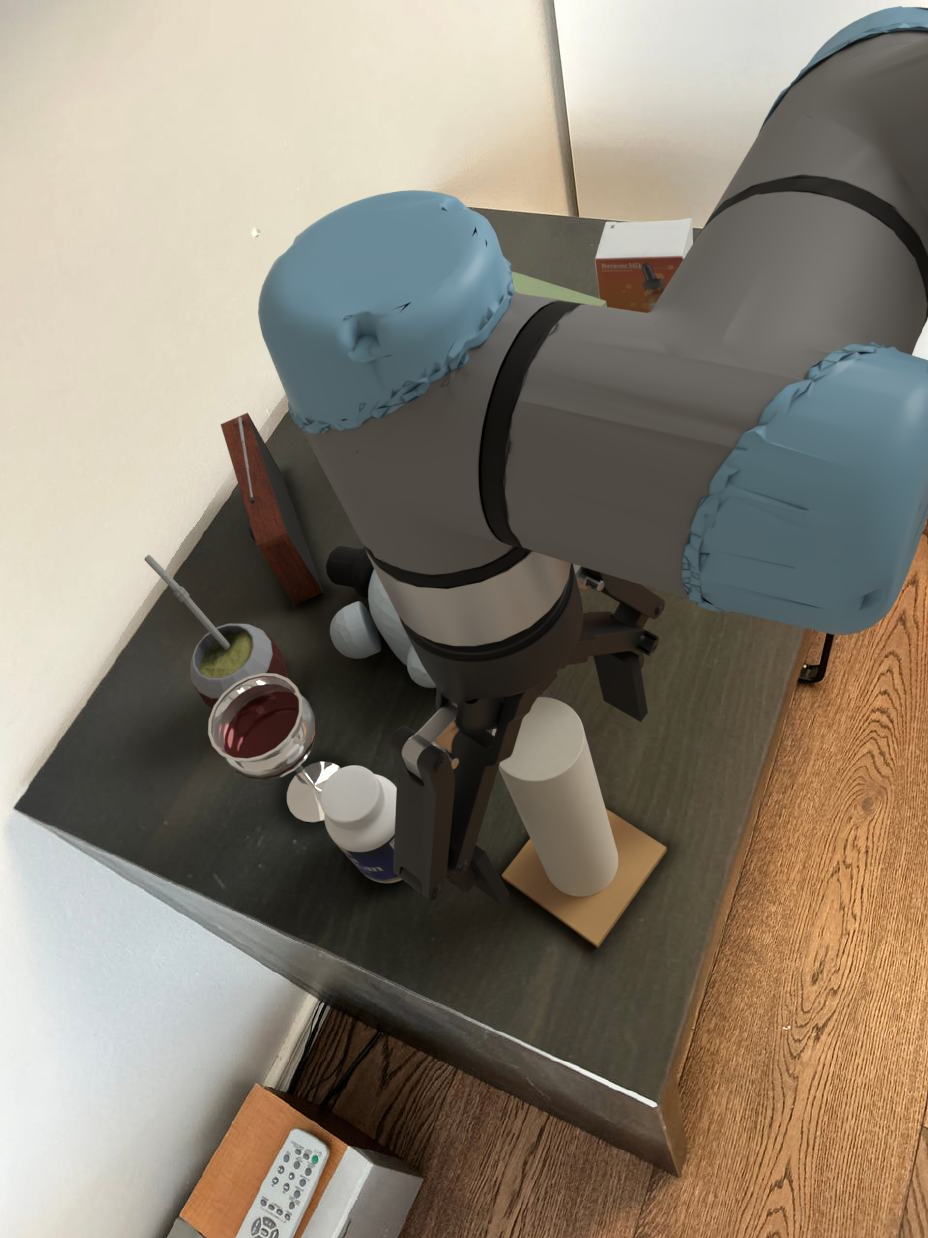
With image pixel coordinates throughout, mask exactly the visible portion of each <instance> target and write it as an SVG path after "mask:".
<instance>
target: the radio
mask: <svg viewBox="0 0 928 1238" xmlns="http://www.w3.org/2000/svg"><path fill="white" fill-rule="evenodd" d="M220 428H221V431H222V434H223V435H222V436H223V437H224V441H225V444H226V447H227V452H228V454H229V457H230V461H231V464H232V467H233V471H234V474H235V478H236V481H237V485H238V487H239V491H240V494H241V497H242V501H243V504H244V508H245V510H246V514H247V517H248V520H249V521H248V522H249V525H248V526H247V528H248V529H247V530H248V532H249V534H250V536H251V538H252V540H253V542H254V543H255V544H256V547H257V548H258V550H259V552H260V554H261V555H262V557H263V558H264V560H265V561H266V563H267V565H268V566H269V568H270V569H271V570H272V572H273V573H274V575H275V577H276V578H277V580H278V581H279V583H280V584H281V586H282V588H283V589H284V591H285V592H286V594H287V596H288V597H289V598H290V600H291V601H292V603H293V605H294V606H296V605H298V604H301V603H303V602H305V601H308V600H310V599H312V598H314V597H317V596H319V595H321V594H323V593H324V592H323V588H322V586H321V582H320V579H319V577H318V574H317V571H316V568H315V565H314V562H313V559H312V557H311V554H310V551H309V547H308V545H307V542H306V539H305V536H304V533H303V531H302V528H301V525H300V522H299V519H298V516H297V513H296V510H295V507H294V504H293V502H292V499H291V495H290V492H289V490H288V488H287V485H286V481H285V479H284V475H283V473H282V472H281V470H280V467H279V466H278V464H277V463H276V461H275V459H274V457H273V455H272V453H271V452H270V450H269V448H268V446H267V445H266V443H265V441H264V439H263V437H262V436H261V434H260V432H259V430H258V428H257V426H256V425H255V423H254V421H253V420H252V418H251V415H250V414H249V412H246V413H243V414H241V415H238V416H236V417H234V418H232V419H230V420H228V421H224V422H223V423H220Z"/></svg>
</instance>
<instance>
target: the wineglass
mask: <svg viewBox="0 0 928 1238" xmlns="http://www.w3.org/2000/svg"><path fill="white" fill-rule="evenodd" d="M207 726H208V727H207V728H208V729H207V734H208V737H209V740H210V743H211V746H212V747H213V748H214V749H215V750H216V751H217V753H218V754H219V755H221V756H222V757H223V760H224V761H225V762H226V763H227V765H229V767H230V768H231V769H232V770H234V771H235V773H237V774H239V775H241V776H243V777H246V778H247V779H252V780H253V779H254V780H264V781H270V780H274V779H279V778H283V777H285V776H286V775H288V774H290V773H292V772H295V773H296V774H294V777H293V778H292V780H291V781H290V782H289V785H288V788H287V792H286V803H287V807H288V809H289V811H290V813H291V814H292V815H293V816H294V817H295V818H296V819H298V820H300V821H303V822H309V823H317V822H322V821H325V819H324V812H323V810H322V807H321V803H320V795H321V790H322V788H323V785H324V784H325V782H326V780H327V779H328V778H329V777H330V776H331V775H332V774H333V773H334V772H336V771H337V770H339V769H341V768H342V767H340V766H339V765H337V764H336V763H333V762H329V761H318V762H314V763H311V764H309V765H307V766H305V767H303V765H302V764H303V763H304V762H306V760H307V758H308V756H309V755H310V753H312V750H313V748H314V744H315V741H316V738H317V718H316V715H315V713H314V710H313V707H312V705H311V704H310V702H309V700H308V699H307V698H305V696H304V695H303V694H302V693H301V692H300V690H299V688H298V686H296V684H294V682H292V680H291V679H289V677H288V678H286V677H283V676H281V675H278V674H272V673H260V674H256V675H252V676H248V677H246V678H244V679H242V680H240V681H238V682H236V683H235V684H233V685H232V686H231V687H230V688H229V689H228V690H226V691H225V692H224V693H223V694H222V695H221V697H220V698H219V700H218V701H217V702H216V704H215V705H214V707H213V709H211V713H210V716H209V718H208V725H207Z"/></svg>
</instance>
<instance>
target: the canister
mask: <svg viewBox="0 0 928 1238" xmlns="http://www.w3.org/2000/svg"><path fill="white" fill-rule="evenodd" d="M495 732H496V729H492V731H491V734H492V735H493V736H495ZM498 770H499V771H498V772H499V773H500V775H501V778H502V779H503V782H504V784H505V786H506V788H507V790H508V792H509V794H510V797H511V799H512V801H513V803H514V806H515V808H516V810H517V812H518V815H519V816H520V819H521V822H522V823H523V825H524V828H525V830H526V832H527V834H528V836H529V839H531V841H532V843H533V845H534V847H535V850H536V852H537V854H538V856H539V858H540V861H541V863H542V865H543V867H544V869H545V872H546V874H547V876H548V878H549V880H550V881H551V883H552V884H553V885H554V886H555V887H556V888H557V889H559V890H560V891H562V892H563V893H566V894H568V895H571V896H577V897H584V896H590V895H593V894H596V893H598V892H600V891H602V890H603V889H604V888H606V887H607V886H608V885H609V884H610V882H611V881H612V880H613V878H614V876H615V874H616V871H617V868H618V853H617V849H616V845H615V842H614V838H613V834H612V831H611V827H610V823H609V820H608V816H607V812H606V809H607V808H606V805H605V801H604V798H603V795H602V790H601V788H600V784H599V780H598V775H597V773H596V768H595V764H594V762H593V757H592V754H591V750H590V747H589V743H588V739H587V736H586V732H585V729H584V725H583V722H582V720H581V718H580V716H579V715H578V713H577V712H576V711H575V710H574V709H573V708H572V707H571V706H570V705H568V704H567V703H565V702H563V701H562V700H558V699H556V698H552V697H545V696H539V697H538V698H537V699H536V701H535V702H534V704H533V705H532V707H531V710H530V712H529V713H528V714H526V715H525V717H524V718H523V720H522V723H521V727H520V730H519V733H518V737H517V740H516V743H515V747H514V750H513V753H512V755H511V757H509V758H508V759H506V760H504V761H502V762H500V764H499V768H498ZM605 808H606V809H605Z"/></svg>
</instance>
